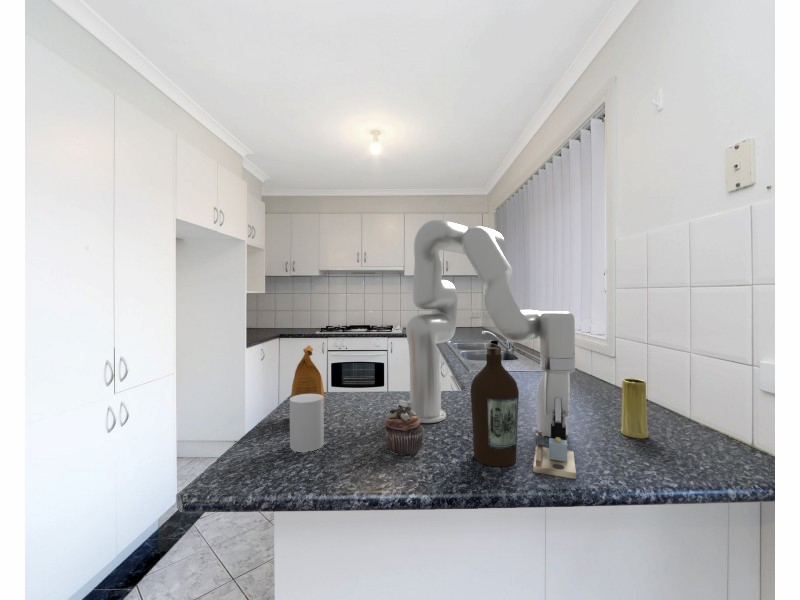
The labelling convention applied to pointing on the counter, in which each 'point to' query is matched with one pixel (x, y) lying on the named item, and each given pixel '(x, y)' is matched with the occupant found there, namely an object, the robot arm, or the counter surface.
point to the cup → (306, 422)
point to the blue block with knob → (558, 449)
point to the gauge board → (552, 461)
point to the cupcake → (404, 431)
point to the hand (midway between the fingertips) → (558, 442)
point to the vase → (634, 408)
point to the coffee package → (307, 377)
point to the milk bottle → (542, 418)
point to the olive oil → (494, 413)
